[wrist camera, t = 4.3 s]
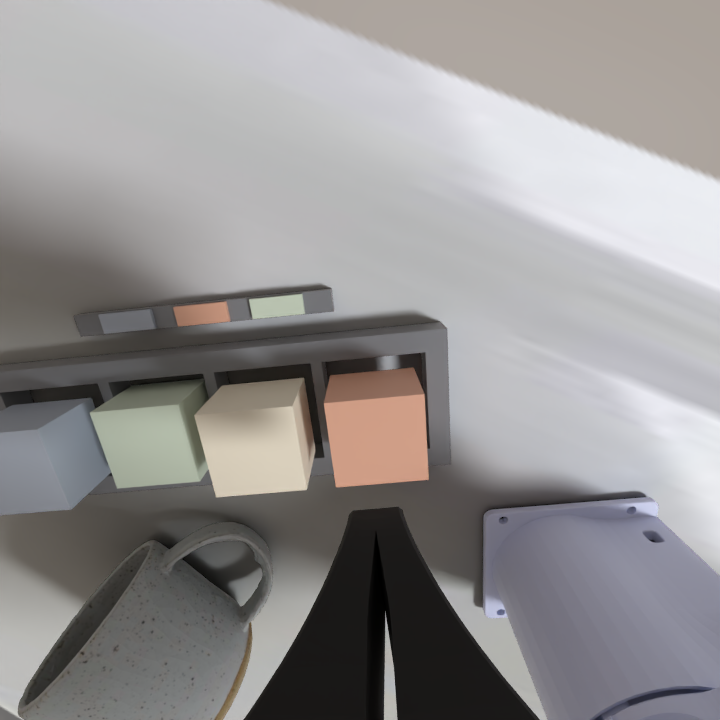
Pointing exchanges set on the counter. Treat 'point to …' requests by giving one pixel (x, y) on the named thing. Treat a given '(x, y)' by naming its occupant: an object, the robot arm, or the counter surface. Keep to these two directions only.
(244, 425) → the sand key
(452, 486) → the counter surface
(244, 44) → the counter surface
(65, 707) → the ceramic mug
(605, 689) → the robot arm
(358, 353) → the keypad base
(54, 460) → the slate key
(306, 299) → the strip
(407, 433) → the terracotta key
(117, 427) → the sage key
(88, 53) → the counter surface
